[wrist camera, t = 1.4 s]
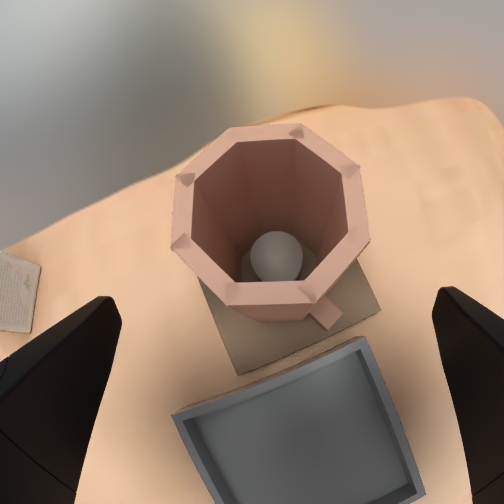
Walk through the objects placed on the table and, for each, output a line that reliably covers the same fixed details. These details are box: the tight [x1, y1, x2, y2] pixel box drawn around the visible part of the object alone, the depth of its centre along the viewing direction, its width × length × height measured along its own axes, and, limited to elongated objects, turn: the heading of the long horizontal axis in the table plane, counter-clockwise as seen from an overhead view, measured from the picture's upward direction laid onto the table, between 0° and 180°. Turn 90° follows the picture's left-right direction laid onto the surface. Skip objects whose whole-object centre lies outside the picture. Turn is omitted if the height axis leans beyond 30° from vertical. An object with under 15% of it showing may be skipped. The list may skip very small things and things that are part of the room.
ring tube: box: [170, 123, 371, 330], centre depth 14 cm, size 7×6×10 cm
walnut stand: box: [197, 231, 381, 375], centre depth 17 cm, size 9×9×5 cm
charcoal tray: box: [171, 336, 426, 504], centre depth 16 cm, size 11×11×2 cm
